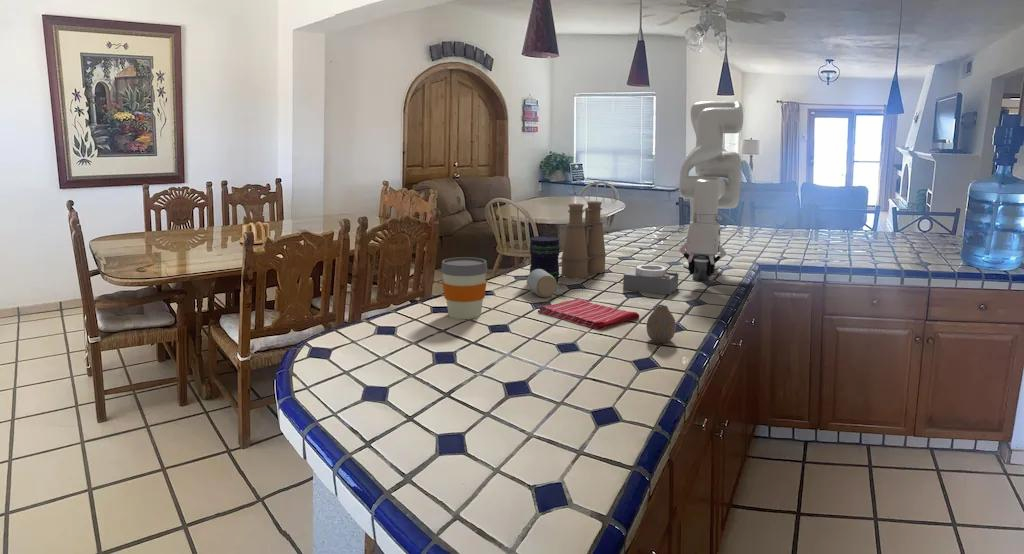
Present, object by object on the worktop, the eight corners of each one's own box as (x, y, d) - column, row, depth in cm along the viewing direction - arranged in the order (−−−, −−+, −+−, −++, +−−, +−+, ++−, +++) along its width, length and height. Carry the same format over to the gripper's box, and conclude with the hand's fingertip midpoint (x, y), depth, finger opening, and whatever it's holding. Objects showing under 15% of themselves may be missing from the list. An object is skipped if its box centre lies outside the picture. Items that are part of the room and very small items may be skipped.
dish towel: (599, 332, 173) (600, 322, 172) (536, 313, 190) (536, 304, 189) (641, 320, 184) (642, 311, 183) (578, 303, 201) (578, 295, 200)
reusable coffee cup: (492, 319, 182) (492, 264, 179) (446, 322, 179) (445, 267, 176) (481, 307, 194) (481, 256, 191) (438, 310, 191) (437, 258, 187)
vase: (652, 334, 169) (654, 300, 167) (679, 339, 165) (681, 305, 163) (641, 341, 164) (642, 306, 162) (668, 347, 160) (670, 311, 158)
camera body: (632, 283, 225) (633, 262, 224) (677, 288, 218) (678, 267, 217) (623, 289, 217) (623, 268, 215) (669, 294, 210) (670, 272, 208)
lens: (694, 277, 222) (695, 252, 220) (710, 279, 219) (712, 254, 217) (690, 280, 217) (691, 255, 215) (707, 282, 215) (709, 257, 213)
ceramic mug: (536, 299, 204) (537, 274, 202) (526, 293, 211) (526, 269, 209) (568, 297, 208) (569, 272, 206) (556, 291, 215) (557, 267, 213)
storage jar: (549, 287, 220) (550, 241, 216) (523, 283, 225) (524, 238, 221) (564, 281, 228) (565, 237, 225) (538, 278, 233) (539, 235, 230)
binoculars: (577, 280, 230) (579, 206, 225) (554, 275, 237) (555, 204, 231) (611, 271, 245) (614, 202, 240) (589, 267, 251) (591, 199, 246)
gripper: (734, 219, 213) (730, 275, 217) (680, 215, 221) (677, 269, 225) (730, 222, 206) (725, 280, 211) (674, 218, 214) (671, 274, 219)
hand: (701, 273), depth 218 cm, fingers closed on lens, 5 cm apart
